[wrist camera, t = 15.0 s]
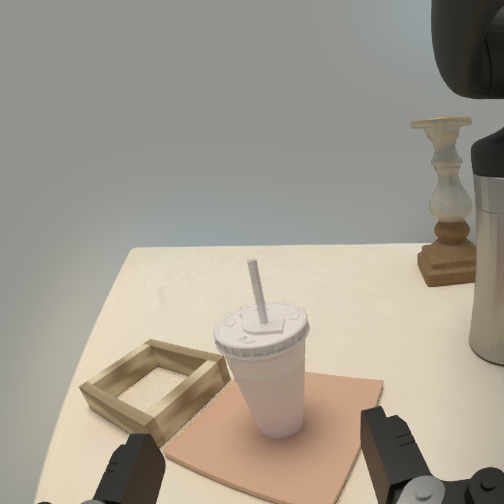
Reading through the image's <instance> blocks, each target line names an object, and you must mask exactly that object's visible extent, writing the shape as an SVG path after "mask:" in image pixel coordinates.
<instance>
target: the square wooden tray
mask: <svg viewBox="0 0 504 504" xmlns="http://www.w3.org/2000/svg"><path fill="white" fill-rule="evenodd" d="M157 366H160V367H163V368H166V369H169V370H172V371H175V372H178V373H182V374H185V375H188V376H189V377H187V378H186V379H185V380H184V381H183V382H182V383H180V384H179V385H178V386H177V387H176V388H175V389H173V390H172V391H171V392H170V393H169V394H167V395H166V396H165V397H164V398H163V399H162V400H160V401H159V402H158V403H157V404H156V405H154V406H153V407H152V408H151V409H149V410H148V411H147V412H146V413H144V412H142V411H140V410H138V409H136V408H134V407H132V406H130V405H128V404H126V403H124V402H123V401H121V400H119V399H117V398H115V397H116V396H118V395H119V394H121V393H122V392H123V391H125V390H126V389H127V388H129V387H130V386H131V385H133V384H134V383H135V382H137V381H138V380H139V379H141V378H142V377H143V376H145V375H146V374H147V373H149V372H150V371H151V370H153V369H154V368H155V367H157ZM229 380H230V375H229V372H228V368H227V365H226V361H225V358H224V356H223V355H218V354H213V353H208V352H204V351H199V350H195V349H190V348H186V347H182V346H177V345H173V344H169V343H165V342H161V341H157V340H153V339H150V340H148V341H147V342H145V343H144V344H142V345H141V346H139V347H138V348H136V349H135V350H133V351H132V352H130V353H129V354H127V355H126V356H124V357H123V358H121V359H120V360H118V361H117V362H115V363H114V364H112V365H111V366H109V367H108V368H106V369H105V370H103V371H102V372H100V373H99V374H97V375H96V376H94V377H93V378H91V379H90V380H88V381H87V382H85V383H84V384H82V385H81V386H79V388H80V390H81V392H82V394H83V396H84V397H85V399H86V401H87V403H88V405H89V407H90V408H91V409H92V410H94V411H95V412H97V413H98V414H100V415H101V416H103V417H104V418H106V419H107V420H109V421H111V422H112V423H114V424H115V425H117V426H118V427H120V428H122V429H123V430H125V431H127V432H128V433H130V434H131V433H148V434H151V435H152V437H153V438H154V440H155V442H156V444H157V446H158V448H159V447H160V446H161V445H163V444H164V443H165V442H166V441H167V440H168V439H169V438H170V437H171V436H172V435H173V434H174V433H176V432H177V431H178V430H179V429H180V428H181V427H182V426H183V425H184V424H185V423H186V422H187V421H188V420H189V419H190V418H191V417H192V416H193V415H194V414H196V413H197V412H198V411H199V410H200V409H201V408H202V407H203V406H204V405H205V404H206V403H207V402H208V401H209V400H210V399H211V398H212V397H213V396H214V395H215V394H216V393H217V392H218V391H219V390H220V389H221V388H222V387H223V386H224V385H225V384H226V383H227V382H228V381H229Z"/></svg>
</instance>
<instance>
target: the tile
mask: <svg viewBox="0 0 504 504" xmlns="http://www.w3.org/2000/svg"><path fill="white" fill-rule="evenodd" d="M382 389H383V380H371V379H361V378H351V377H342V376H333V375H325V374H317V373H310V372H305V386H304V420H303V425H302V427H301V429H300V430H299V431H298V432H297V433H295V434H294V435H292V436H289V437H286V438H282V439H273V438H269V437H266V436H264V435H263V434H262V433H261V432H260V431H259V429H258V427H257V425H256V422H255V420H254V418H253V416H252V414H251V412H250V410H249V408H248V406H247V403H246V401H245V399H244V397H243V395H242V393H241V391H240V388H239V386H238V384H237V382H236V380H234V381H233V382H232V383H231V384H230V385H229V386H228V387H227V388H226V389H225V390H224V391H223V392H222V393H221V395H220V396H219V397H218V398H217V399H216V400H215V401H214V402H213V403H212V404H211V405H210V406H209V407H208V408H207V409H206V410H205V411H204V412H203V413H202V414H201V415H200V416H198V417H197V418H196V419H195V420H194V421H193V422H192V423H191V424H190V425H189V426H188V427H187V428H186V429H185V430H184V431H183V432H182V433H181V434H180V435H179V436H178V437H177V438H176V439H175V440H174V441H172V442H171V443H170V444H169V445H168V446H167V447H166V448H165V449H164V450H163V453H164V455H165V457H167V458H169V459H171V460H173V461H175V462H177V463H179V464H181V465H183V466H185V467H187V468H189V469H191V470H193V471H195V472H197V473H199V474H202V475H204V476H206V477H208V478H210V479H213V480H215V481H217V482H220V483H222V484H225V485H227V486H229V487H232V488H234V489H237V490H240V491H242V492H245V493H247V494H250V495H253V496H256V497H258V498H261V499H264V500H267V501H270V502H273V503H276V504H335V503H336V501H337V499H338V497H339V495H340V493H341V491H342V489H343V487H344V484H345V482H346V480H347V478H348V476H349V474H350V472H351V469H352V467H353V465H354V463H355V460H356V458H357V456H358V453H359V451H360V448H361V441H360V421H361V410H365V409H369V408H373V407H377V404H378V401H379V398H380V395H381V392H382Z"/></svg>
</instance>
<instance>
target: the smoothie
mask: <svg viewBox="0 0 504 504" xmlns="http://www.w3.org/2000/svg"><path fill="white" fill-rule="evenodd" d="M247 262H248V267H249V272H250V277H251V282H252V287H253V292H254V297H255V301H256V304H252V305H248V306H245V307H242V308H239V309H237V310H234V311H232V312H230V313H229V314H227V315H226V316H224V317H223V318H222V319H220V320H219V321H218V323H217V324H216V325H215V327H214V331H213V334H214V338H215V344H216V348H217V349H218V350H219V352H220V353H221V354H223V355H225V357H226V359H227V362H228V364H229V367H230V369H231V371H232V373H233V375H234V377H235V380H236V382H237V384H238V386H239V388H240V391H241V393H242V395H243V397H244V399H245V401H246V403H247V406H248V408H249V410H250V412H251V414H252V416H253V418H254V420H255V422H256V425H257V427H258V429H259V431H260V432H261V433H262V434H263V435H264V436H266V437H269V438H273V439H282V438H286V437H289V436H292V435H294V434H295V433H297V432H298V431H299V430H300V429H301V427H302V425H303V420H304V386H305V338H306V337H307V336H308V333H309V330H310V327H309V323H308V319H307V313H306V312H305V310H304V309H303V308H301V307H300V306H298V305H295V304H292V303H288V302H276V301H273V302H265V301H264V296H263V291H262V286H261V281H260V276H259V270H258V265H257V260H256V259H250V260H248V261H247Z"/></svg>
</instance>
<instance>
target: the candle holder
mask: <svg viewBox="0 0 504 504" xmlns="http://www.w3.org/2000/svg"><path fill="white" fill-rule="evenodd" d="M471 123H472V121H471V119H470V118H469V117H440V118H430V119H422V120H417V121H412V122H410V127H411V128H412V129H422V130H424V131H425V132H426V135H427V137H428V138H429V139H430V140H431V141H432V143H433V145H434V149H435V152H434V157H433V159H432V161H431V164H432V165H434V167H435V170H436V171H437V173H438V177H439V178H438V183H437V186H436V188H435V191H434V193H433V195H432V197H431V200H430V204H429V208H430V212H431V214H432V215H433V216H434V217H435V218H436V219H438V223H437V224H436V226H435V228H434V230H435V231H434V232H435V234H436V236H437V237H438V238H439V239H437V240H436V241H435V242H433V243H432V244H431V245H424V246H423V247H422V252H420V253H418V266H419V268H420V271H421V273H422V275H423V277H424V280H425V282H426V284H427V286H430V287H432V286H444V285H453V284H462V283H471V282H475V273H476V247H475V245H474V244H473V243H472V242H471V241H469V240H468V239H466V237H467V236H468V235H469V232H470V228H469V225H468V224H467V223H466V222H465V219H466V218H468V217H469V215H470V214H471V212H472V202H471V199H470V197H469V195H468V194H467V192H466V190H465V189H464V188H463V186H462V184H461V182H460V180H459V177H458V172H459V168H460V164H461V163H462V159H461V158H460V157H459V155H458V154H457V152H456V149H455V142H456V139H457V137H458V134H459V128H460V127H462V126H468V125H470V124H471Z"/></svg>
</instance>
